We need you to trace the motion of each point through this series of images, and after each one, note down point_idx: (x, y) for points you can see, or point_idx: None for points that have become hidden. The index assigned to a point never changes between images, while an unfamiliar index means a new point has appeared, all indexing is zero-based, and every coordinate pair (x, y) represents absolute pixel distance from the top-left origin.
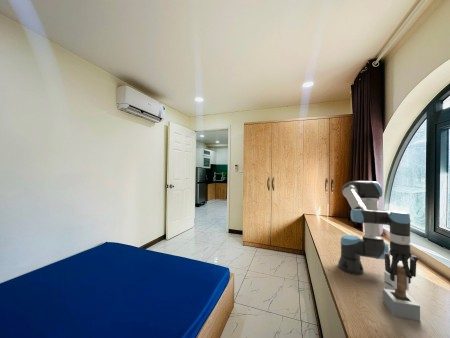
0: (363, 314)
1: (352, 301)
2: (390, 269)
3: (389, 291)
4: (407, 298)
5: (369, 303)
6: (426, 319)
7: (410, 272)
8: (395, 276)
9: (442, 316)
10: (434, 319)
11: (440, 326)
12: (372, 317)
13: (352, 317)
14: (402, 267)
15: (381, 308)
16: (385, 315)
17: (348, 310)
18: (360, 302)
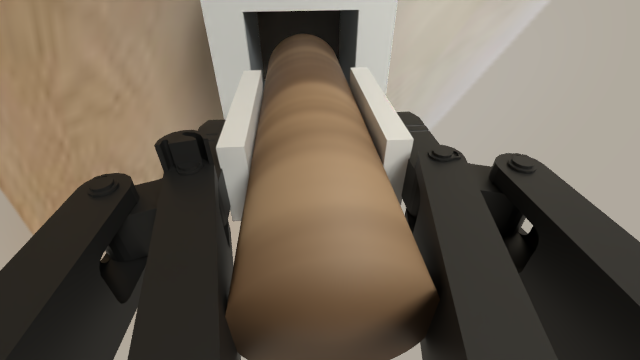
0: (88, 145)
1: (6, 40)
2: (137, 305)
3: (240, 11)
4: (354, 61)
5: (120, 22)
6: (405, 72)
7: (508, 194)
8: (238, 213)
9: (529, 7)
10: (452, 56)
11: (435, 105)
12: (131, 151)
13: (40, 182)
14: (367, 340)
15: (190, 54)
16: (198, 114)
17: (8, 141)
18: (60, 32)
